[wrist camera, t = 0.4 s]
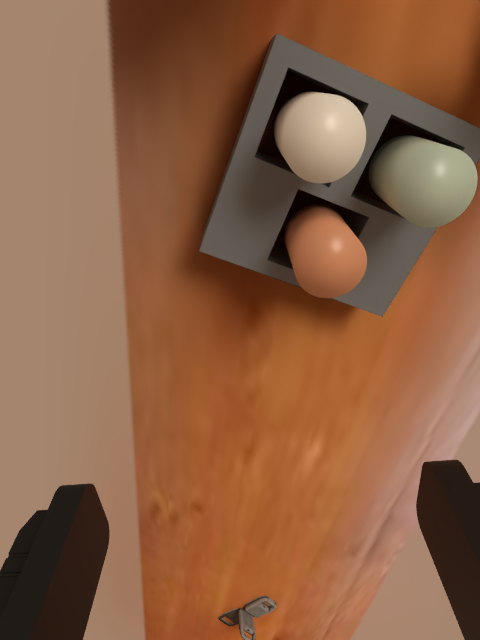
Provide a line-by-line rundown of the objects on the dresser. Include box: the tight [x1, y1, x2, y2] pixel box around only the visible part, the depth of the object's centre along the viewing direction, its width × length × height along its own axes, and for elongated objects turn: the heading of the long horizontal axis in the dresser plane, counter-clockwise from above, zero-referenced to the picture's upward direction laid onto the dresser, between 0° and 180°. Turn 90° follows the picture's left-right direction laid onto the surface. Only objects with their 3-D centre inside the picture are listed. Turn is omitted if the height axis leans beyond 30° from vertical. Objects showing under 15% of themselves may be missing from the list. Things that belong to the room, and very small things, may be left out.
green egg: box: [369, 135, 478, 228], centre depth 27 cm, size 4×4×6 cm
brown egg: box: [285, 205, 367, 298], centre depth 29 cm, size 4×4×6 cm
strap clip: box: [219, 596, 276, 640], centre depth 59 cm, size 8×3×4 cm, turn 129°
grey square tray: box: [199, 34, 480, 317], centre depth 31 cm, size 14×15×4 cm
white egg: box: [274, 91, 366, 184], centre depth 26 cm, size 4×4×6 cm
